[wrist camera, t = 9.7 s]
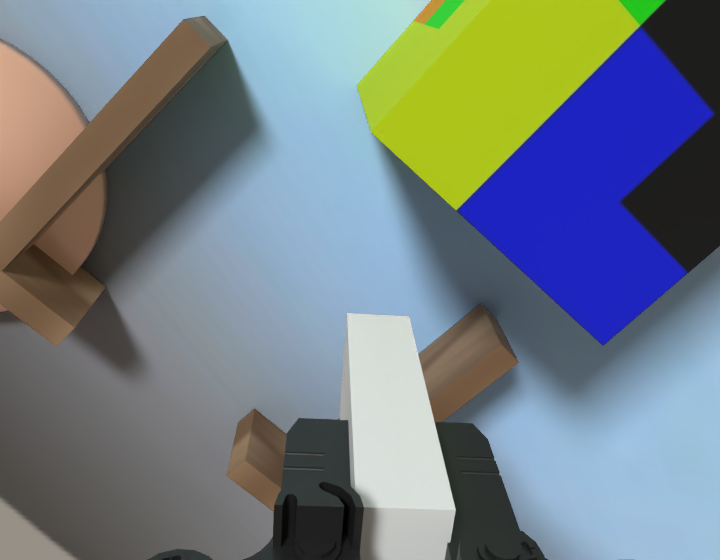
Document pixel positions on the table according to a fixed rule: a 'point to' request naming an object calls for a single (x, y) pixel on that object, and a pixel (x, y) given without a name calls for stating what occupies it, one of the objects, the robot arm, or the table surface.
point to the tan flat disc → (44, 154)
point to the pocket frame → (79, 291)
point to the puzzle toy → (566, 138)
